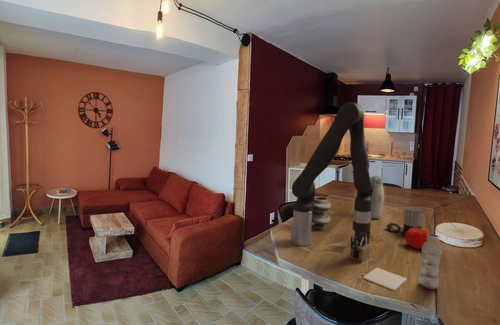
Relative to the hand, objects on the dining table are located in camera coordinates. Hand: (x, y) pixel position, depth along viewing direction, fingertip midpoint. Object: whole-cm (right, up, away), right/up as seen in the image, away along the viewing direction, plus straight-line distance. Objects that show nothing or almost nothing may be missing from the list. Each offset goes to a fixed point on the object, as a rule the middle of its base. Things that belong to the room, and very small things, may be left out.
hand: (359, 255), depth 134 cm
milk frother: (+37, +2, +33) cm, 50 cm away
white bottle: (+32, +6, +60) cm, 68 cm away
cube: (0, -1, 0) cm, 1 cm away
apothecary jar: (-9, +4, +39) cm, 40 cm away
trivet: (+3, -3, -18) cm, 19 cm away
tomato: (+35, 0, +14) cm, 37 cm away
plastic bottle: (+17, -5, -23) cm, 29 cm away
